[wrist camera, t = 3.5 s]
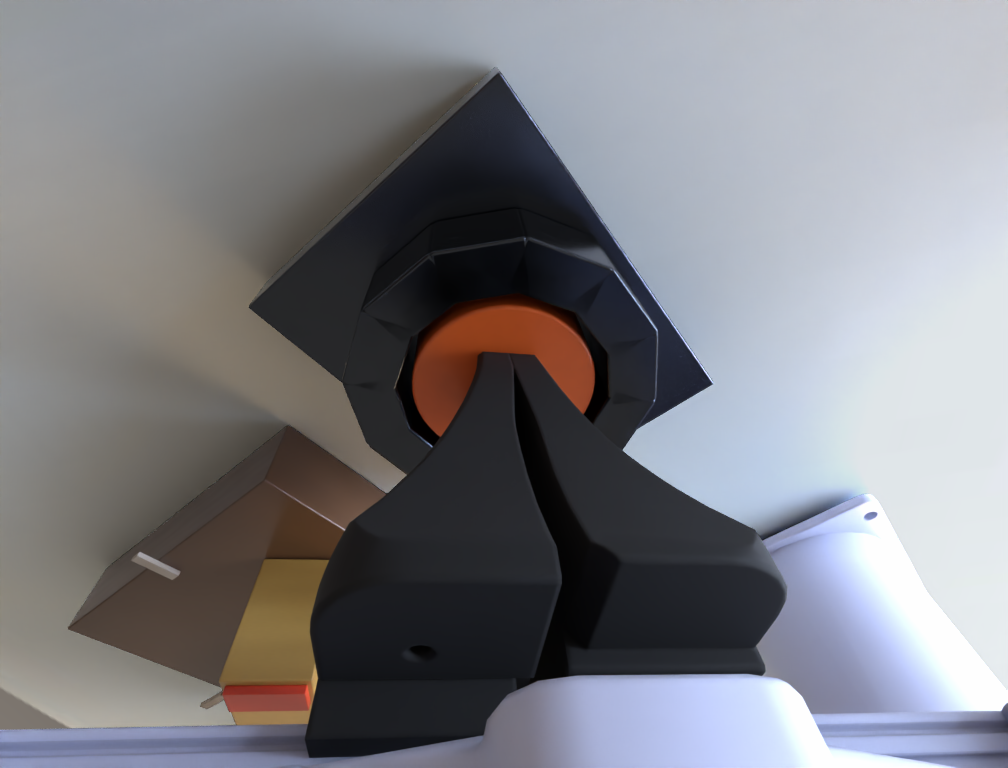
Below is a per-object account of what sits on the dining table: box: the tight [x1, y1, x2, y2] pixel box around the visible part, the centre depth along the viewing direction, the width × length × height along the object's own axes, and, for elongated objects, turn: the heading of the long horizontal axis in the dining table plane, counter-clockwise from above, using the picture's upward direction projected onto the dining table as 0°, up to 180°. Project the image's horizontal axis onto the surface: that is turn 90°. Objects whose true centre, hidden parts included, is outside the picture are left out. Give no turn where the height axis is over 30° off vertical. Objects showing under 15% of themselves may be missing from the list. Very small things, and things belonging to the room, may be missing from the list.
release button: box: [412, 293, 595, 437], centre depth 13 cm, size 4×4×2 cm
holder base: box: [68, 425, 386, 709], centre depth 21 cm, size 14×14×3 cm
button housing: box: [249, 67, 713, 475], centre depth 14 cm, size 10×8×4 cm
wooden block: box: [219, 559, 329, 725], centre depth 18 cm, size 10×2×4 cm, turn 173°
